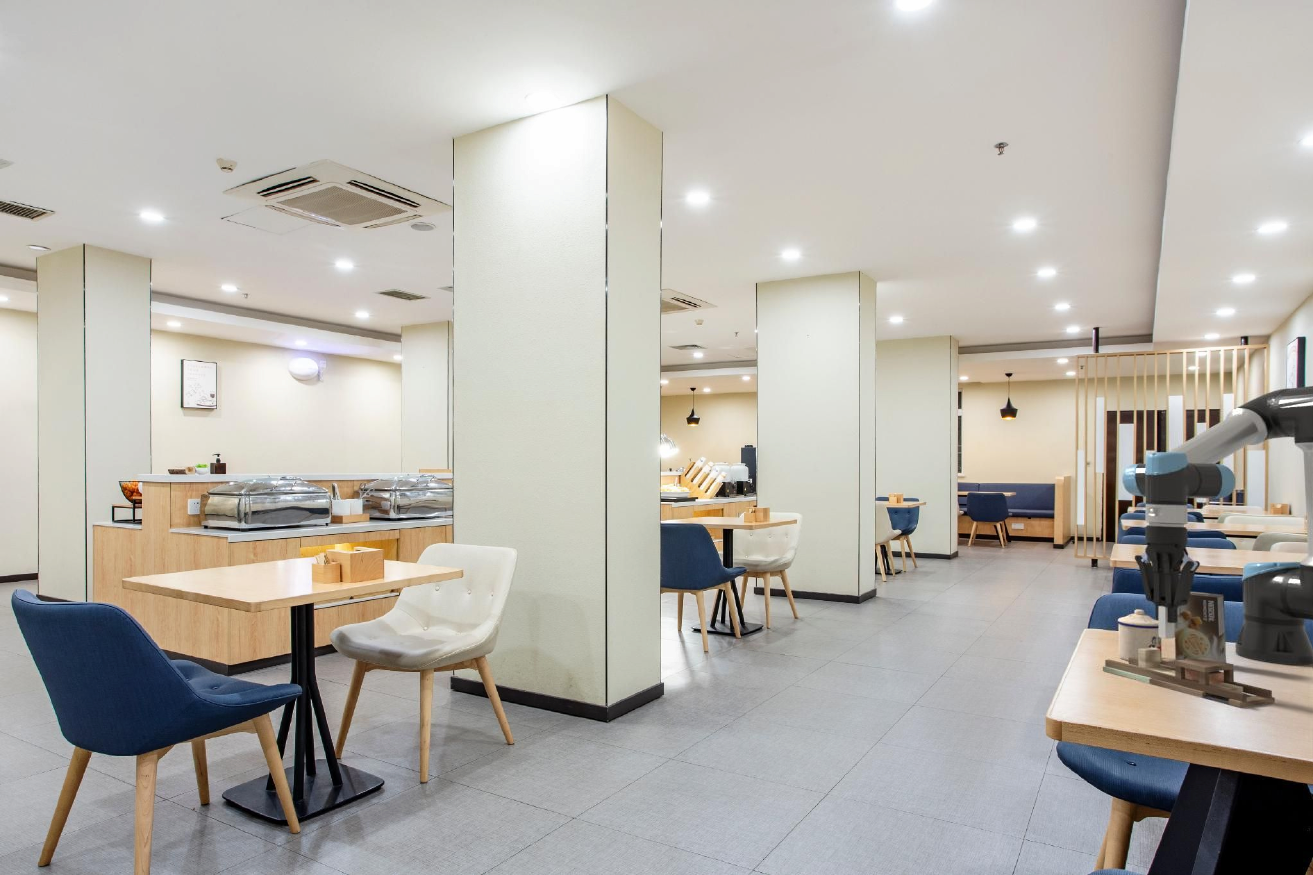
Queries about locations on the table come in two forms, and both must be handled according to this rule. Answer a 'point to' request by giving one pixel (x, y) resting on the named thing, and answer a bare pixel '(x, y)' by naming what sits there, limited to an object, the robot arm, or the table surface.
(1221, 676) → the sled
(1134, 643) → the teacup with lid
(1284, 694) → the table surface
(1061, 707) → the table surface
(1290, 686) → the table surface
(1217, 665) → the tunnel board
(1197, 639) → the coffee box
